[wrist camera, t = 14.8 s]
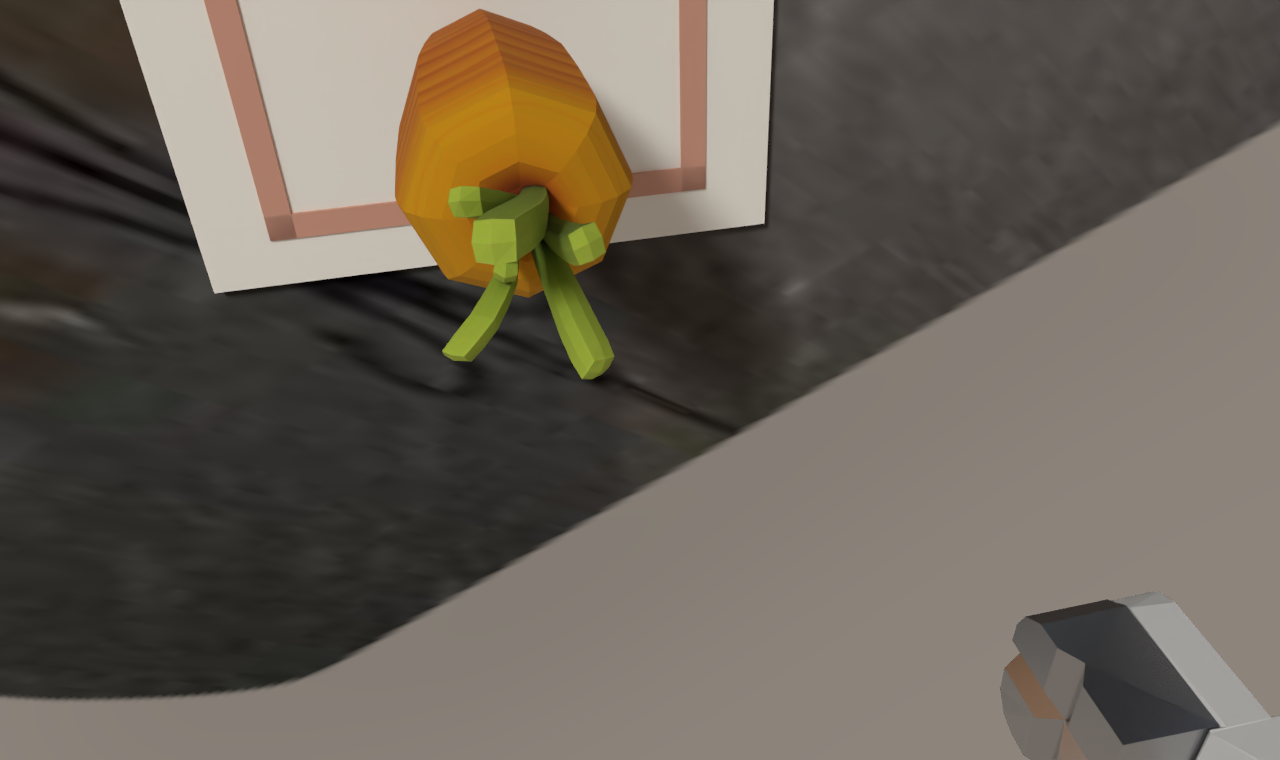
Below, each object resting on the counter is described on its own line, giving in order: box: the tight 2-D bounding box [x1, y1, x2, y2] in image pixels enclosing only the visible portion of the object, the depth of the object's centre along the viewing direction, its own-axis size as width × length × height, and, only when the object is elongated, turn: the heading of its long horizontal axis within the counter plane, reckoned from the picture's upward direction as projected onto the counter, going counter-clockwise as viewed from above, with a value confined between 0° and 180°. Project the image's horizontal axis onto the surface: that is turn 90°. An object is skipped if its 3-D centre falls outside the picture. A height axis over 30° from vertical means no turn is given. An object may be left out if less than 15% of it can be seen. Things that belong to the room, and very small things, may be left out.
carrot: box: [395, 9, 633, 379], centre depth 23 cm, size 5×5×15 cm
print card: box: [120, 0, 774, 293], centre depth 29 cm, size 18×14×1 cm
